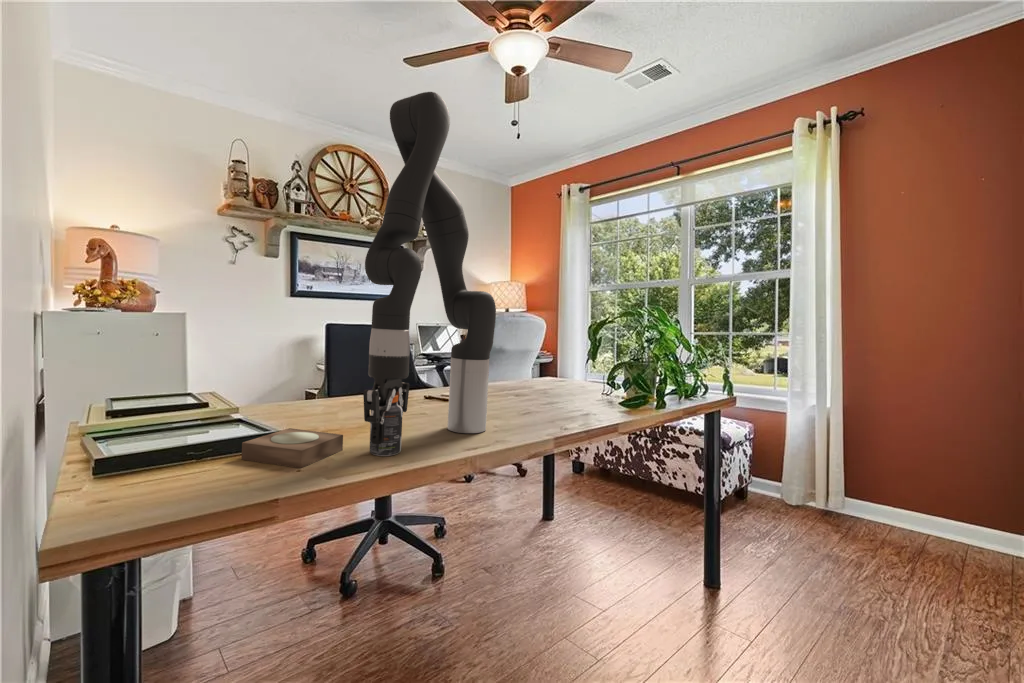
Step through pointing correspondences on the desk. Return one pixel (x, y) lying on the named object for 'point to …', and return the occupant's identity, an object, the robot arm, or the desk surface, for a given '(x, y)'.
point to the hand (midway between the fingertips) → (385, 439)
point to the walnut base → (292, 447)
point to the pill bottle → (390, 432)
